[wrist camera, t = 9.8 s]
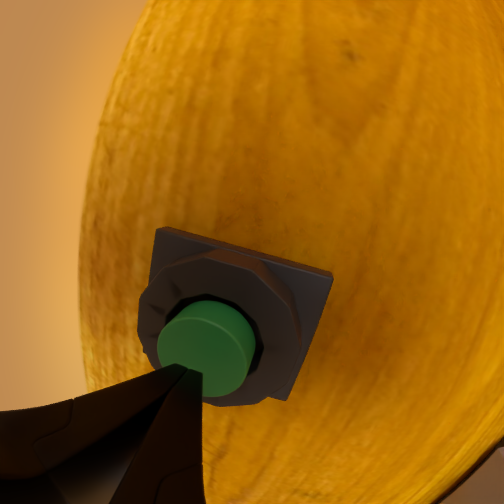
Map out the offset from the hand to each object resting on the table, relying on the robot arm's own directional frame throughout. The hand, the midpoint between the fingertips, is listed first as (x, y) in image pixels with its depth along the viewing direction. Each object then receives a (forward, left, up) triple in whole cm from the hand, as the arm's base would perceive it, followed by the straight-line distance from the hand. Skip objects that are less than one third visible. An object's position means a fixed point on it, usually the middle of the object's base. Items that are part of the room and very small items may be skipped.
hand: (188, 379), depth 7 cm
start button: (0, 0, -3) cm, 3 cm away
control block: (0, 0, -5) cm, 5 cm away
